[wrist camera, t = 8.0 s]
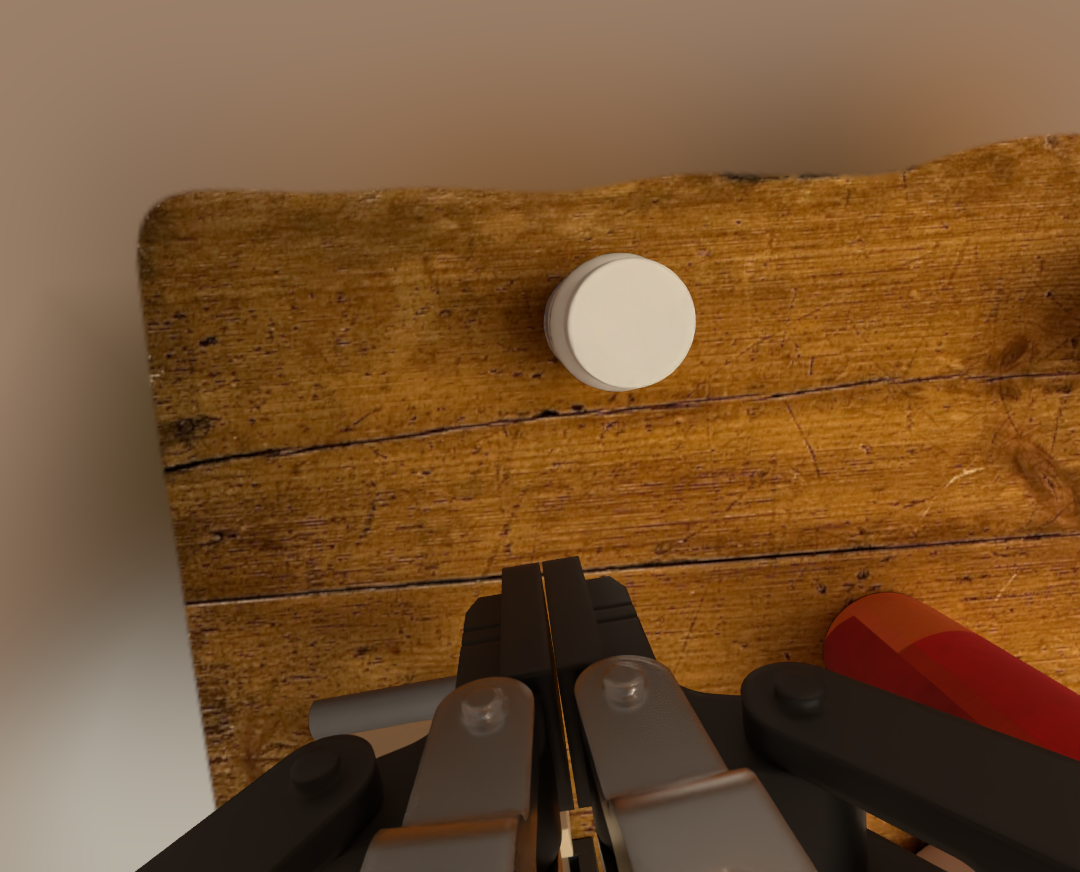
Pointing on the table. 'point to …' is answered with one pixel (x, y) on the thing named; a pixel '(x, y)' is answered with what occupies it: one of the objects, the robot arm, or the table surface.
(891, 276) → the table surface
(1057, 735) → the coffee cup
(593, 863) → the cabinet
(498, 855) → the robot arm
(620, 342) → the pill bottle
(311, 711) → the storage drawer
